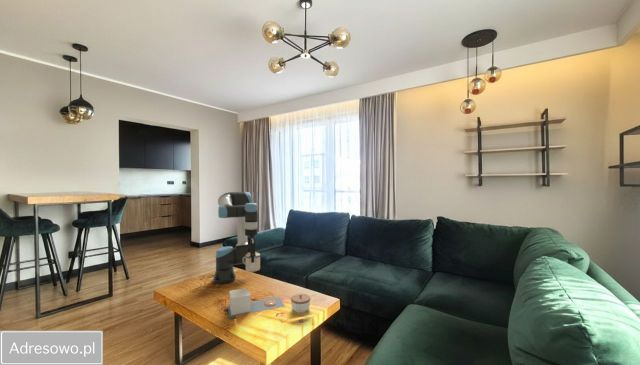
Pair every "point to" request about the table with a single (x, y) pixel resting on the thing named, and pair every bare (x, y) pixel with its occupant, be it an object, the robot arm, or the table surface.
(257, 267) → the teacup with lid
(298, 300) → the lidded jar
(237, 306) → the block
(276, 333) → the table surface
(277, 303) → the board
